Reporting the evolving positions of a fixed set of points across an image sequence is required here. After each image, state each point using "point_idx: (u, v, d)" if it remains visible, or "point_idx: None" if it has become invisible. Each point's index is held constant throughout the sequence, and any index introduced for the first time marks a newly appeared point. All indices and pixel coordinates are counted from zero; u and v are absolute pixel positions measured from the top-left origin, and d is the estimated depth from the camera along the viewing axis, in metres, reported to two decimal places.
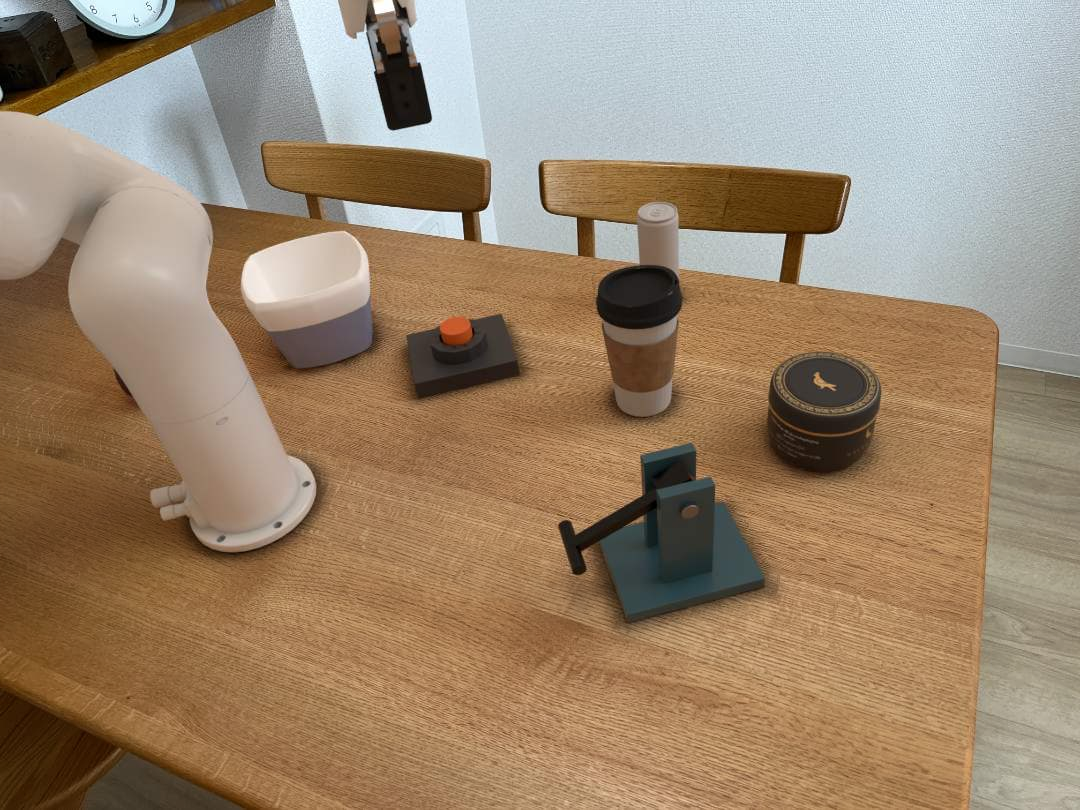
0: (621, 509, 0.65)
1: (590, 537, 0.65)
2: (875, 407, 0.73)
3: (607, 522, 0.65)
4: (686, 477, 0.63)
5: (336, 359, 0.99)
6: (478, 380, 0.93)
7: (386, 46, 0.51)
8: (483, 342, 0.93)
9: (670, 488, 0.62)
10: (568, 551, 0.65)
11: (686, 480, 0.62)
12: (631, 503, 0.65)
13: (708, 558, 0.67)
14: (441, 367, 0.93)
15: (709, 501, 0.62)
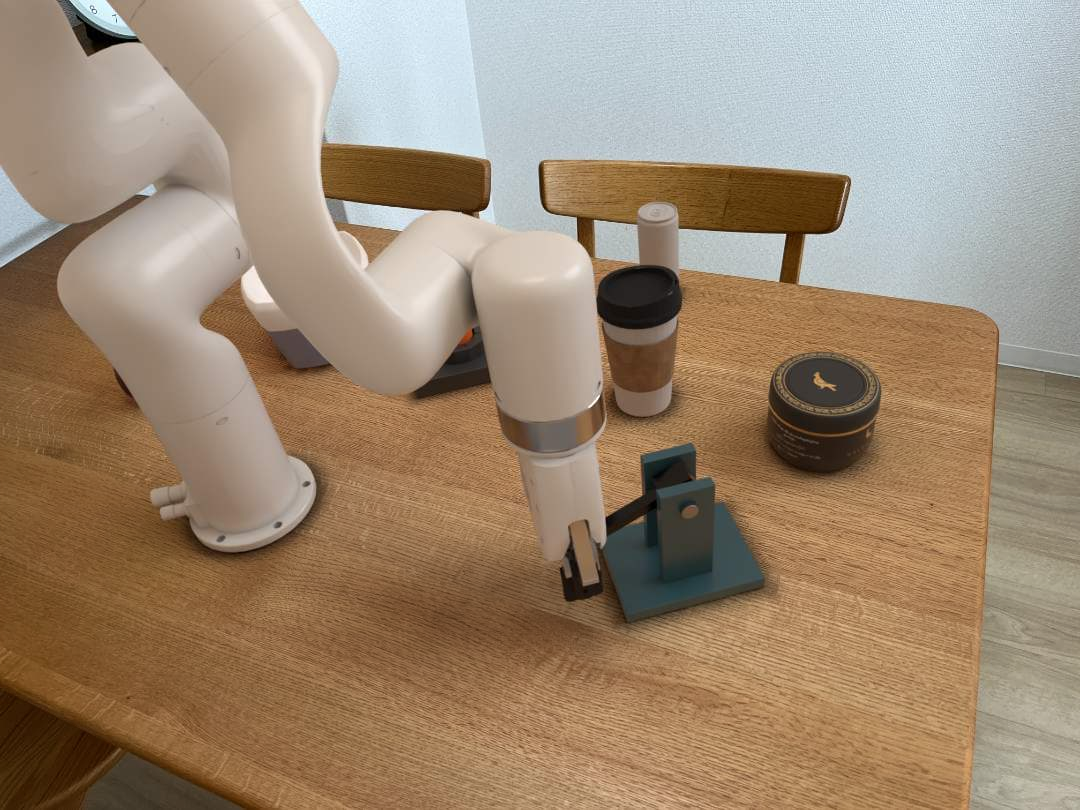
0: (621, 509, 0.65)
1: None
2: (875, 407, 0.73)
3: (607, 522, 0.65)
4: (686, 477, 0.63)
5: None
6: (478, 380, 0.93)
7: None
8: None
9: (670, 488, 0.62)
10: None
11: (686, 480, 0.62)
12: (631, 503, 0.65)
13: (708, 558, 0.67)
14: (441, 367, 0.93)
15: (709, 501, 0.62)
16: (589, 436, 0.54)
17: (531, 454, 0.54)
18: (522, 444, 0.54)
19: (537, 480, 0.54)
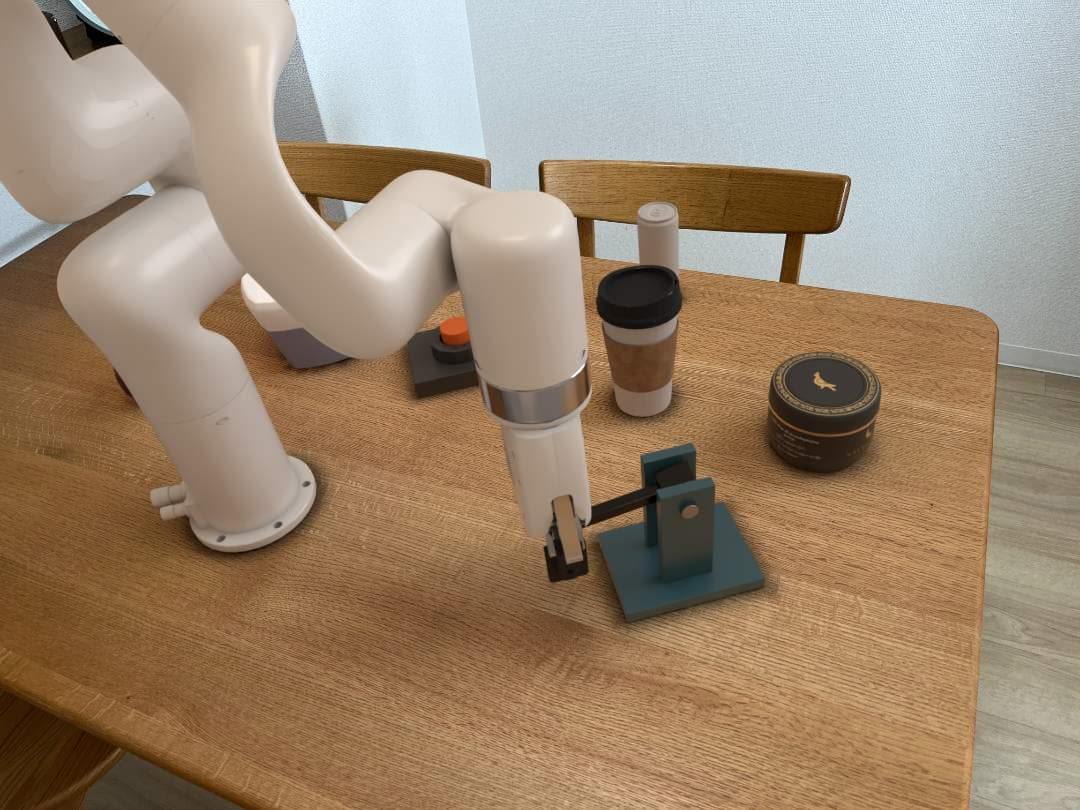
0: (617, 498, 0.64)
1: None
2: (875, 407, 0.73)
3: (600, 509, 0.64)
4: (691, 477, 0.63)
5: (336, 359, 0.99)
6: None
7: None
8: None
9: (670, 488, 0.62)
10: (556, 530, 0.63)
11: (691, 480, 0.63)
12: (628, 494, 0.64)
13: (708, 558, 0.67)
14: (441, 367, 0.93)
15: (709, 501, 0.62)
16: (573, 407, 0.52)
17: (513, 425, 0.52)
18: (504, 415, 0.52)
19: (519, 453, 0.52)
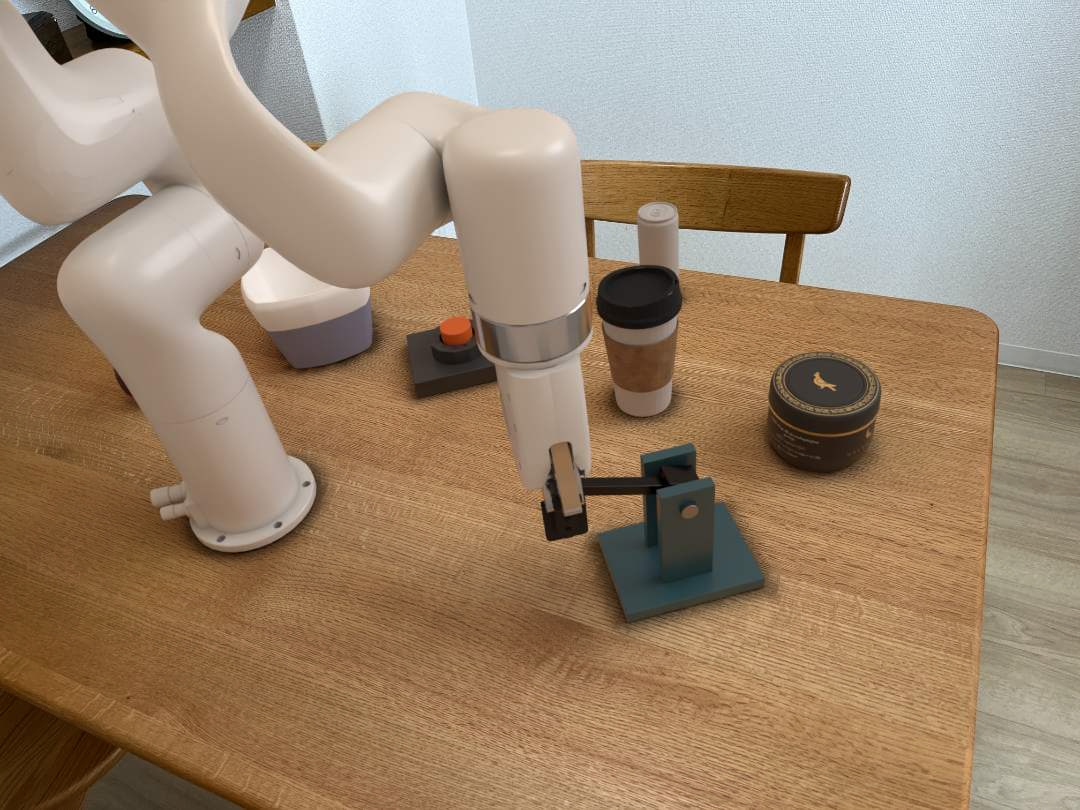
0: (620, 478, 0.63)
1: (584, 486, 0.61)
2: (875, 407, 0.73)
3: (604, 482, 0.62)
4: None
5: (336, 359, 0.99)
6: (478, 380, 0.93)
7: None
8: None
9: (670, 488, 0.62)
10: None
11: None
12: (632, 478, 0.63)
13: (708, 558, 0.67)
14: (441, 367, 0.93)
15: (709, 501, 0.62)
16: (573, 346, 0.49)
17: (509, 365, 0.49)
18: (499, 353, 0.49)
19: (515, 394, 0.49)
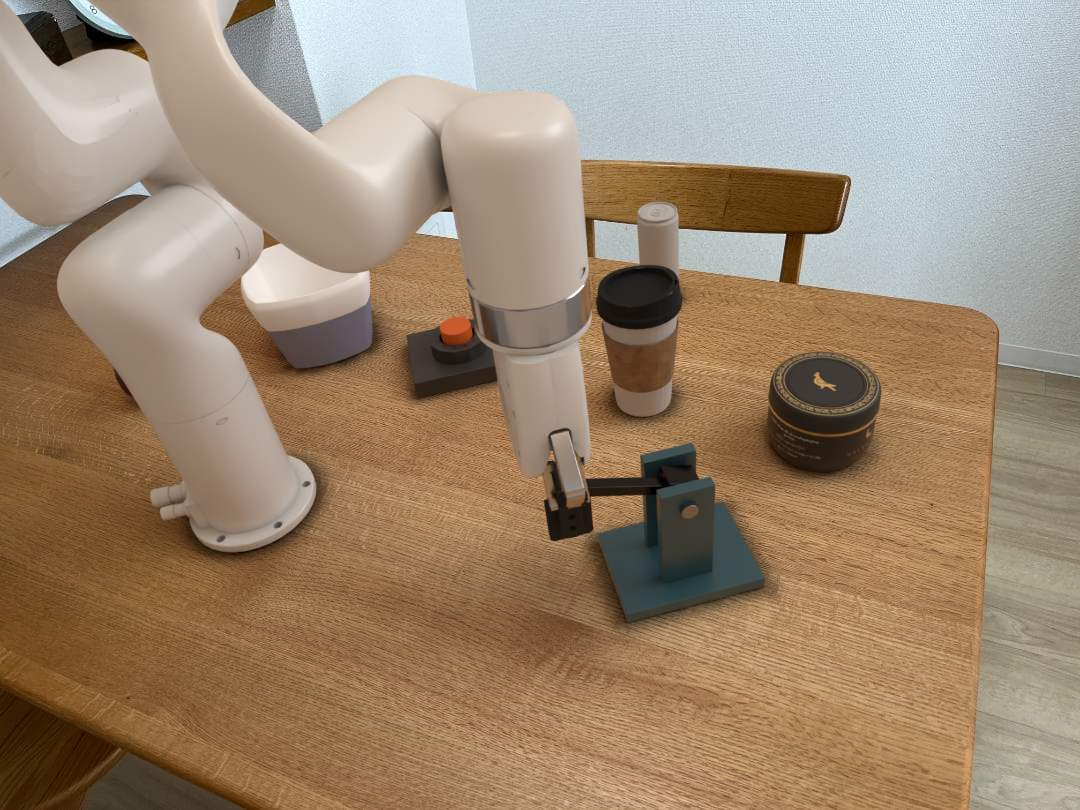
0: (620, 479, 0.63)
1: None
2: (875, 407, 0.73)
3: (603, 483, 0.62)
4: None
5: (336, 359, 0.99)
6: (478, 380, 0.93)
7: (568, 507, 0.52)
8: None
9: (670, 488, 0.62)
10: (557, 489, 0.61)
11: None
12: (631, 478, 0.63)
13: (708, 558, 0.67)
14: (441, 367, 0.93)
15: (709, 501, 0.62)
16: (572, 331, 0.49)
17: (507, 350, 0.49)
18: (497, 339, 0.49)
19: (514, 380, 0.49)
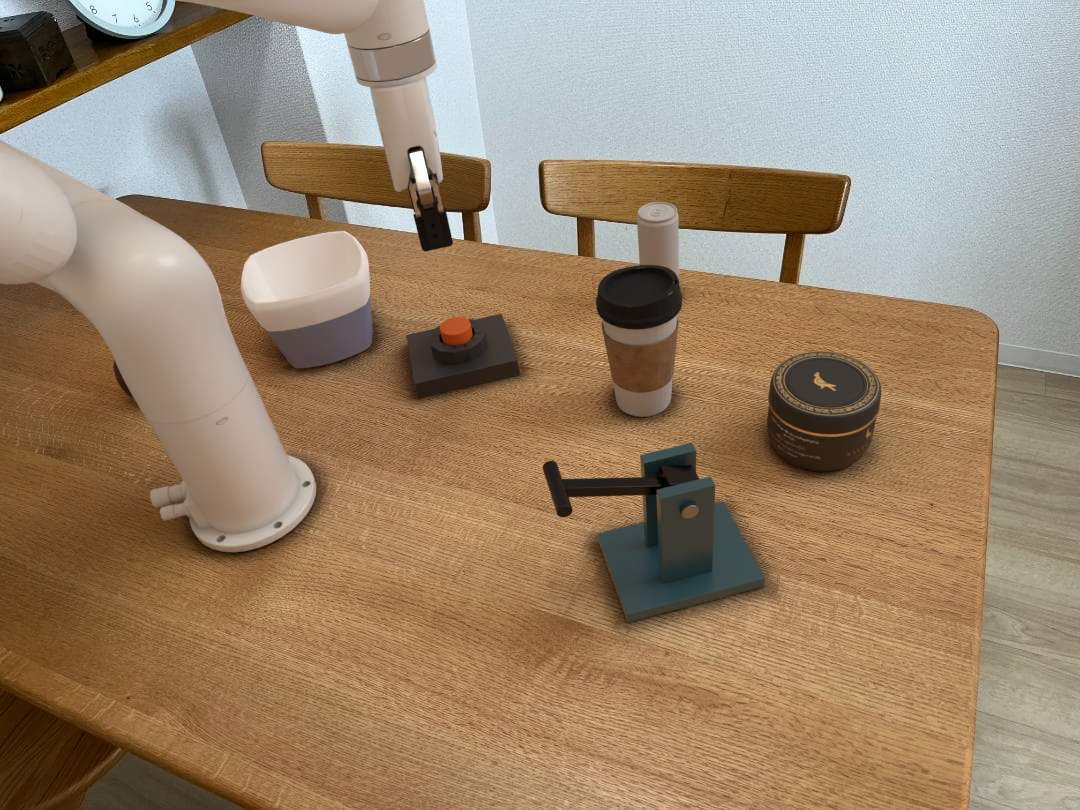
0: (620, 479, 0.63)
1: (583, 487, 0.61)
2: (875, 407, 0.73)
3: (603, 483, 0.62)
4: None
5: (336, 359, 0.99)
6: (478, 380, 0.93)
7: (423, 204, 0.75)
8: (483, 342, 0.93)
9: (670, 488, 0.62)
10: (557, 489, 0.61)
11: None
12: (631, 478, 0.63)
13: (708, 558, 0.67)
14: (441, 367, 0.93)
15: (709, 501, 0.62)
16: (417, 70, 0.72)
17: (374, 84, 0.72)
18: (367, 76, 0.72)
19: (379, 105, 0.72)
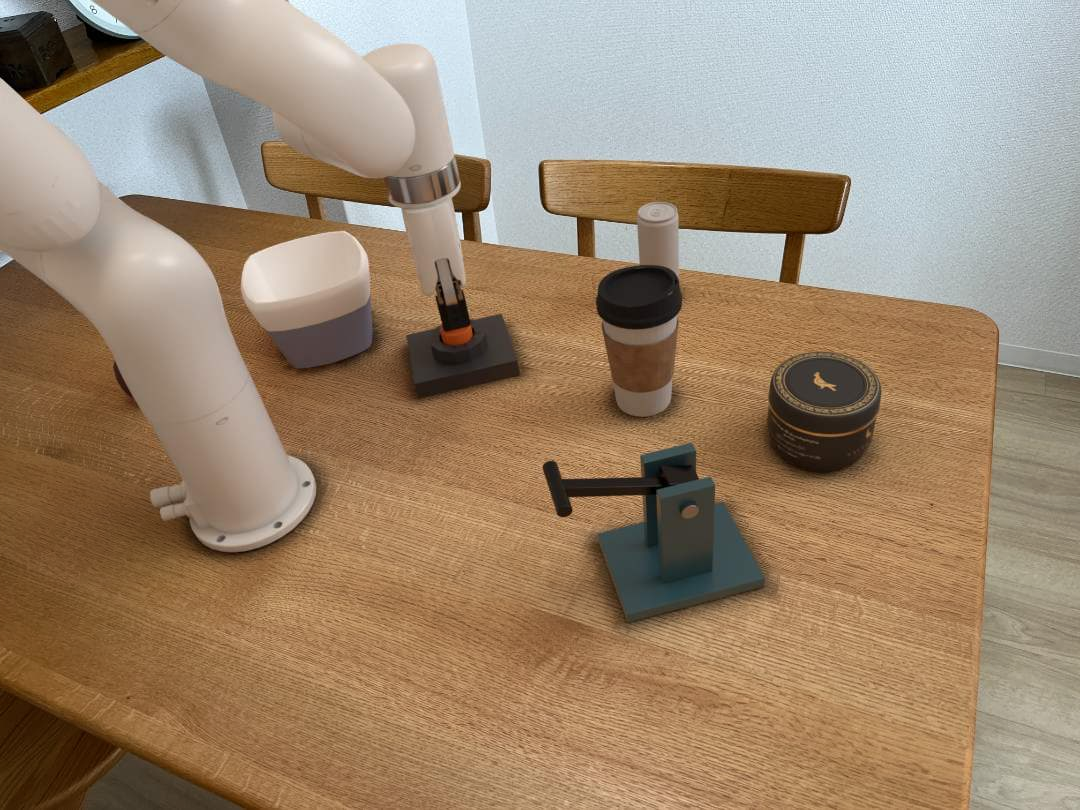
0: (620, 479, 0.63)
1: (583, 487, 0.61)
2: (875, 407, 0.73)
3: (603, 483, 0.62)
4: None
5: (336, 359, 0.99)
6: (478, 380, 0.93)
7: None
8: (483, 342, 0.93)
9: (670, 488, 0.62)
10: (557, 489, 0.61)
11: None
12: (631, 478, 0.63)
13: (708, 558, 0.67)
14: (441, 367, 0.93)
15: (709, 501, 0.62)
16: (444, 193, 0.80)
17: (405, 206, 0.80)
18: (398, 199, 0.80)
19: (409, 224, 0.80)
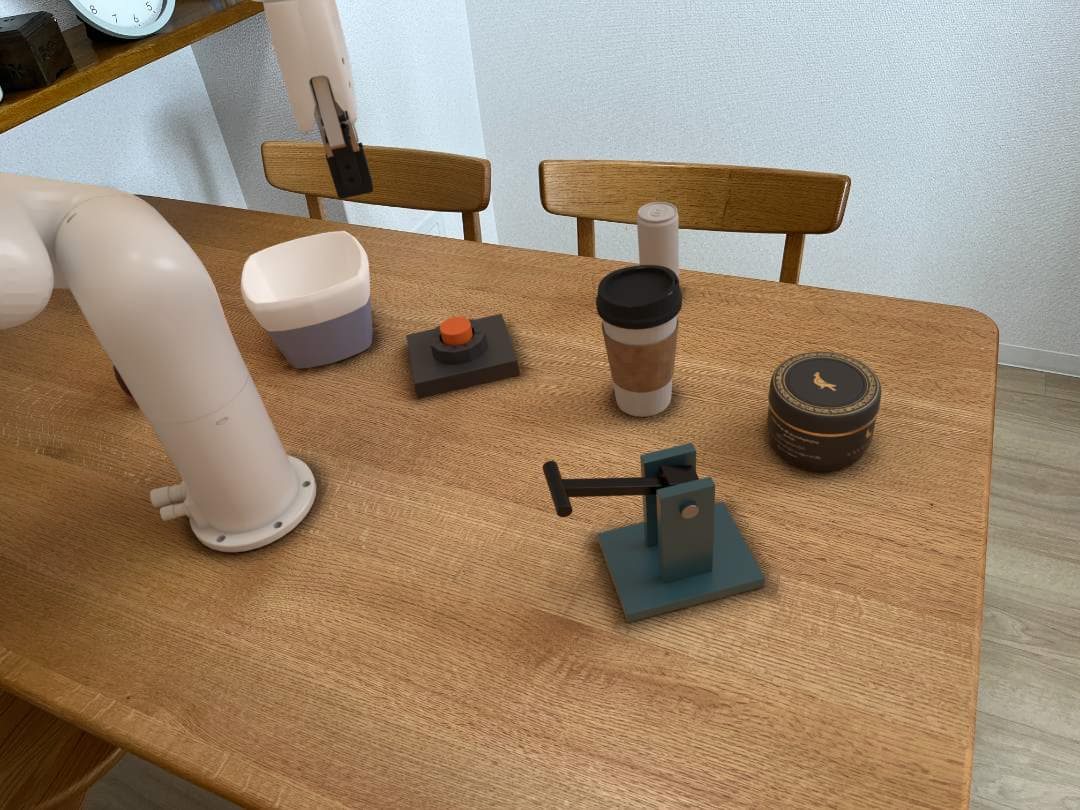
0: (620, 479, 0.63)
1: (583, 487, 0.61)
2: (875, 407, 0.73)
3: (603, 483, 0.62)
4: None
5: (336, 359, 0.99)
6: (478, 380, 0.93)
7: None
8: (483, 342, 0.93)
9: (670, 488, 0.62)
10: (557, 489, 0.61)
11: None
12: (631, 478, 0.63)
13: (708, 558, 0.67)
14: (441, 367, 0.93)
15: (709, 501, 0.62)
16: None
17: None
18: None
19: (270, 23, 0.59)
